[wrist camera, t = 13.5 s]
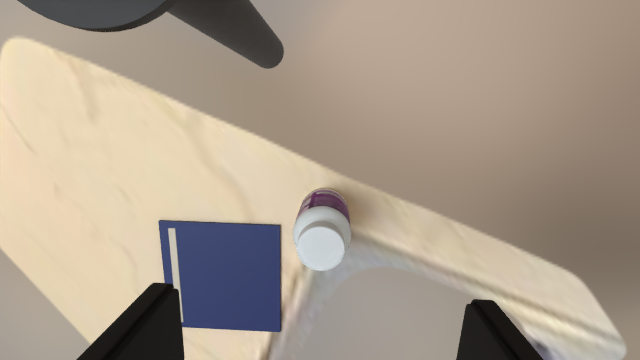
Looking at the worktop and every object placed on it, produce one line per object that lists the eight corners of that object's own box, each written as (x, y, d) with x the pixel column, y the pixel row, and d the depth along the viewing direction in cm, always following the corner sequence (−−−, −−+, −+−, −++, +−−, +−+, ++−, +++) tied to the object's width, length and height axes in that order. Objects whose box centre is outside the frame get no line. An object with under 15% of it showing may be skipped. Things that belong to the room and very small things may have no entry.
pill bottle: (302, 185, 33) (289, 214, 24) (350, 189, 33) (356, 220, 24) (298, 230, 35) (286, 275, 25) (345, 234, 35) (350, 281, 25)
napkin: (159, 220, 35) (157, 221, 35) (280, 224, 35) (279, 226, 34) (170, 324, 38) (168, 326, 38) (280, 330, 38) (280, 332, 37)
